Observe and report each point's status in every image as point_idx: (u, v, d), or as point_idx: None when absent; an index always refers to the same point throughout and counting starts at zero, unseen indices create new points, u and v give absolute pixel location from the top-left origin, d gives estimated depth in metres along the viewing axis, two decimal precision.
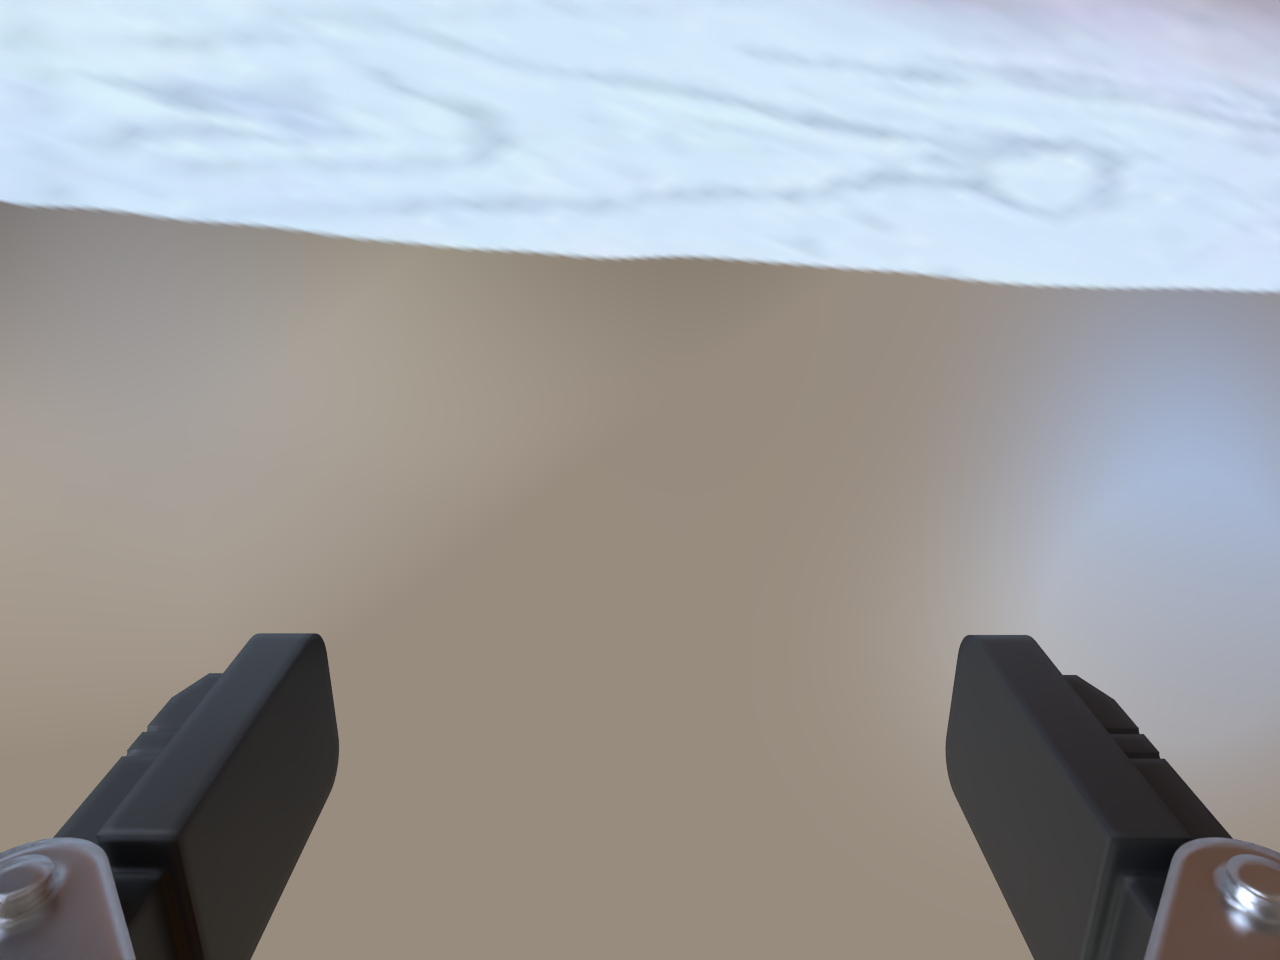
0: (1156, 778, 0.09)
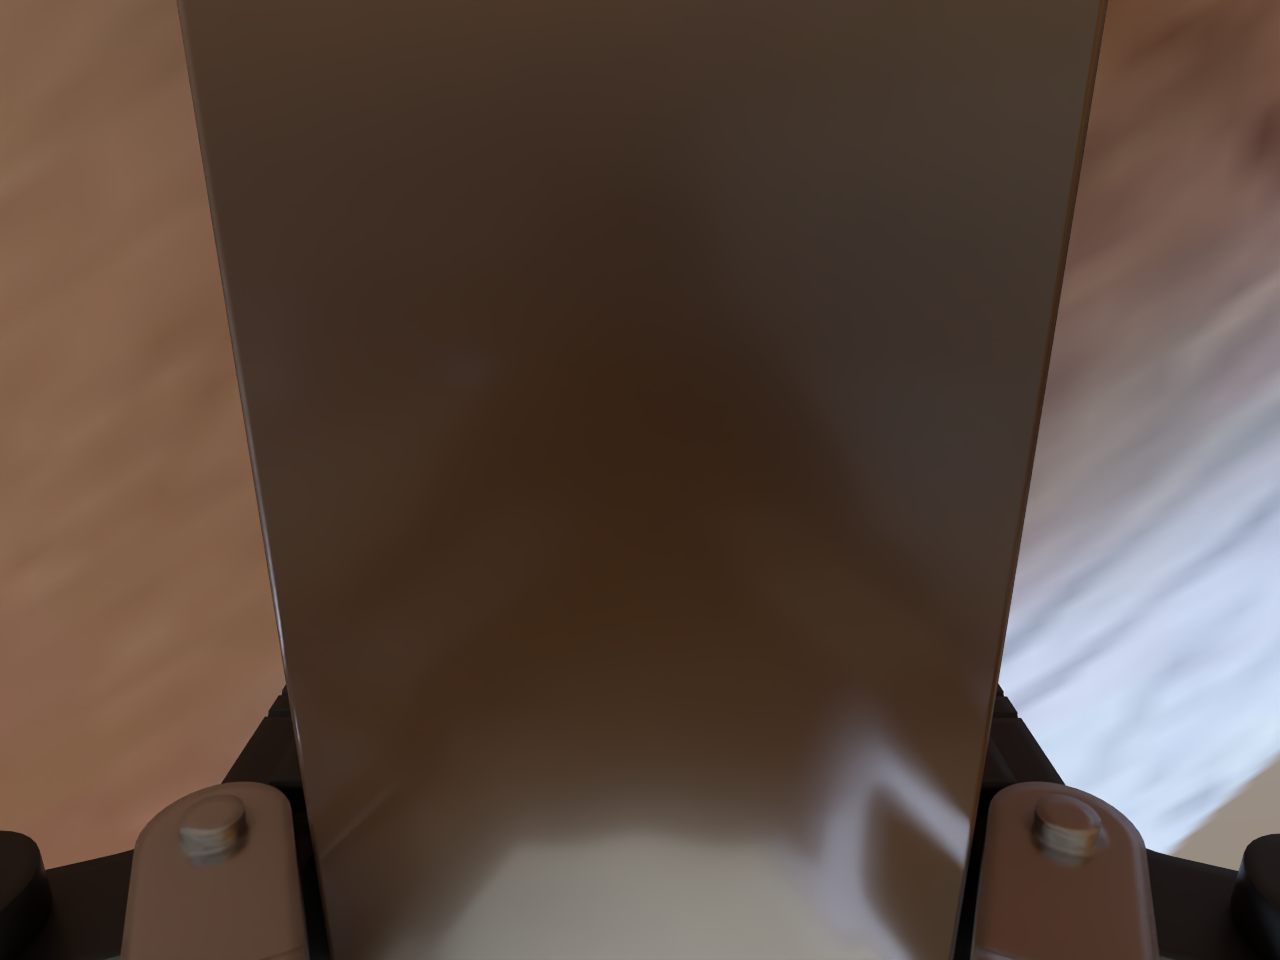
0: (1009, 735, 0.10)
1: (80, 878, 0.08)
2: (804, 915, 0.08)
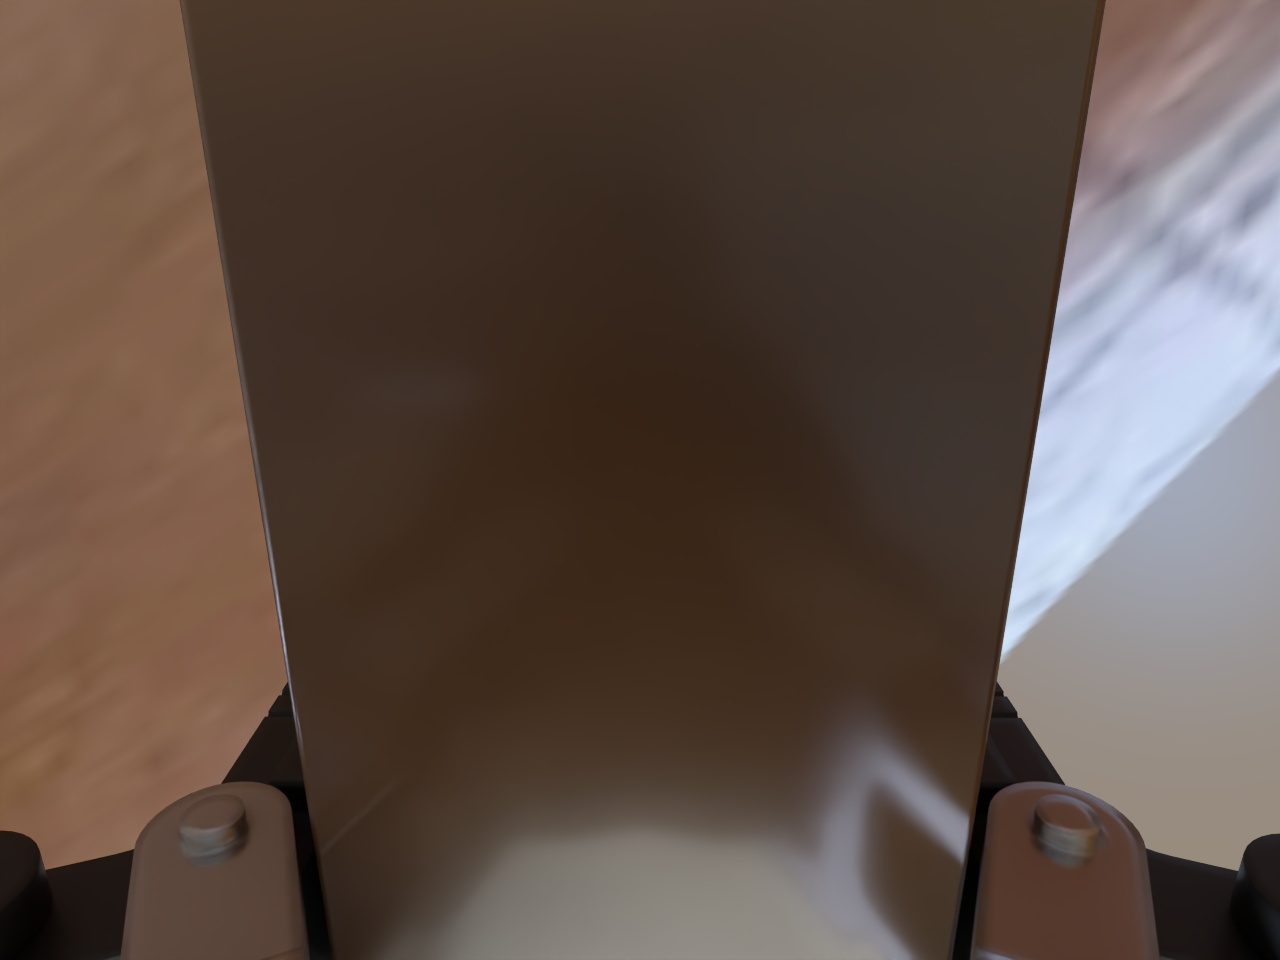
0: (1009, 735, 0.10)
1: (79, 878, 0.08)
2: (805, 911, 0.08)
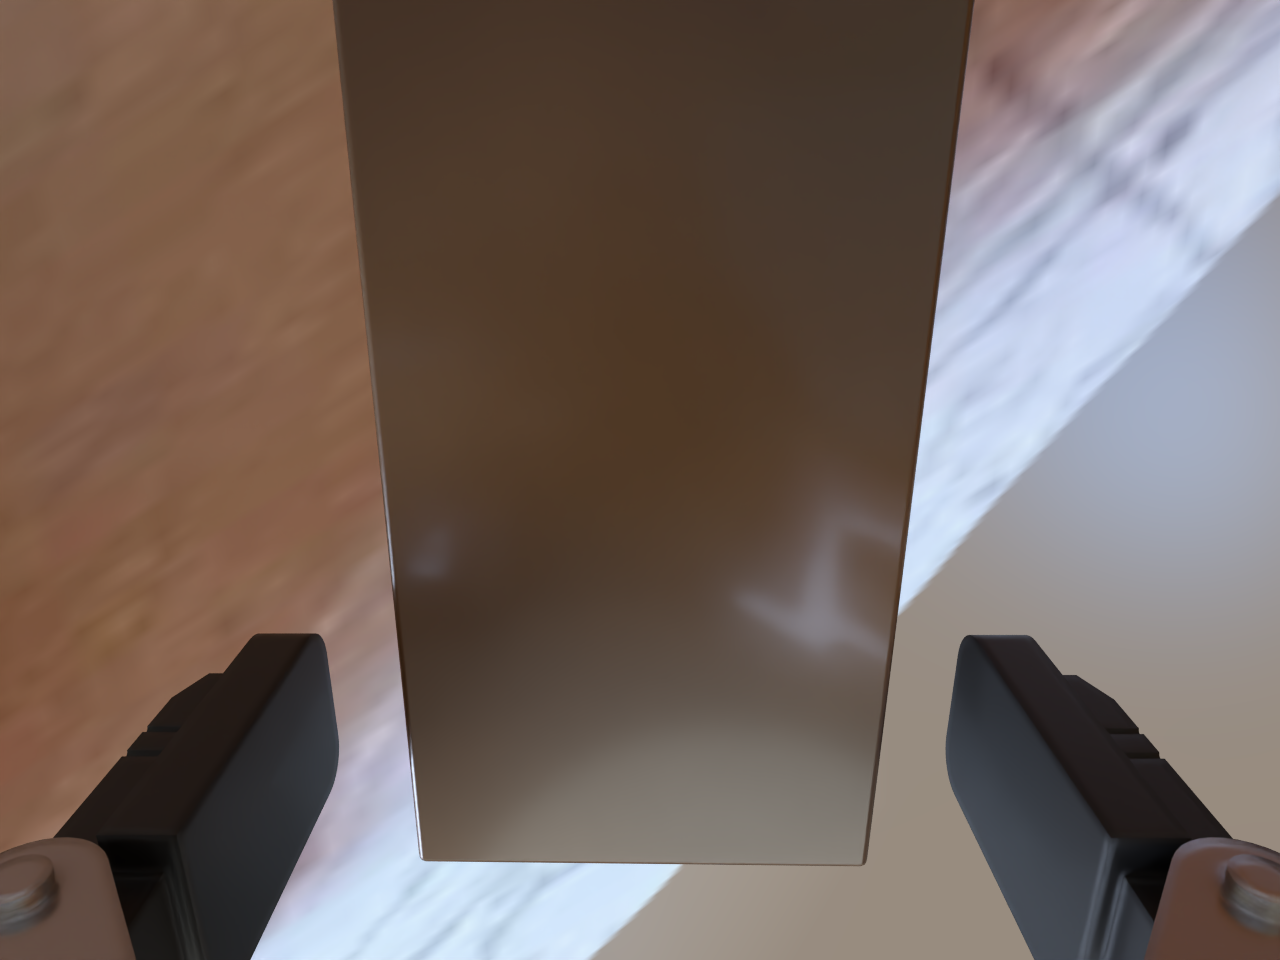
0: (1156, 778, 0.09)
1: None
2: (777, 577, 0.10)
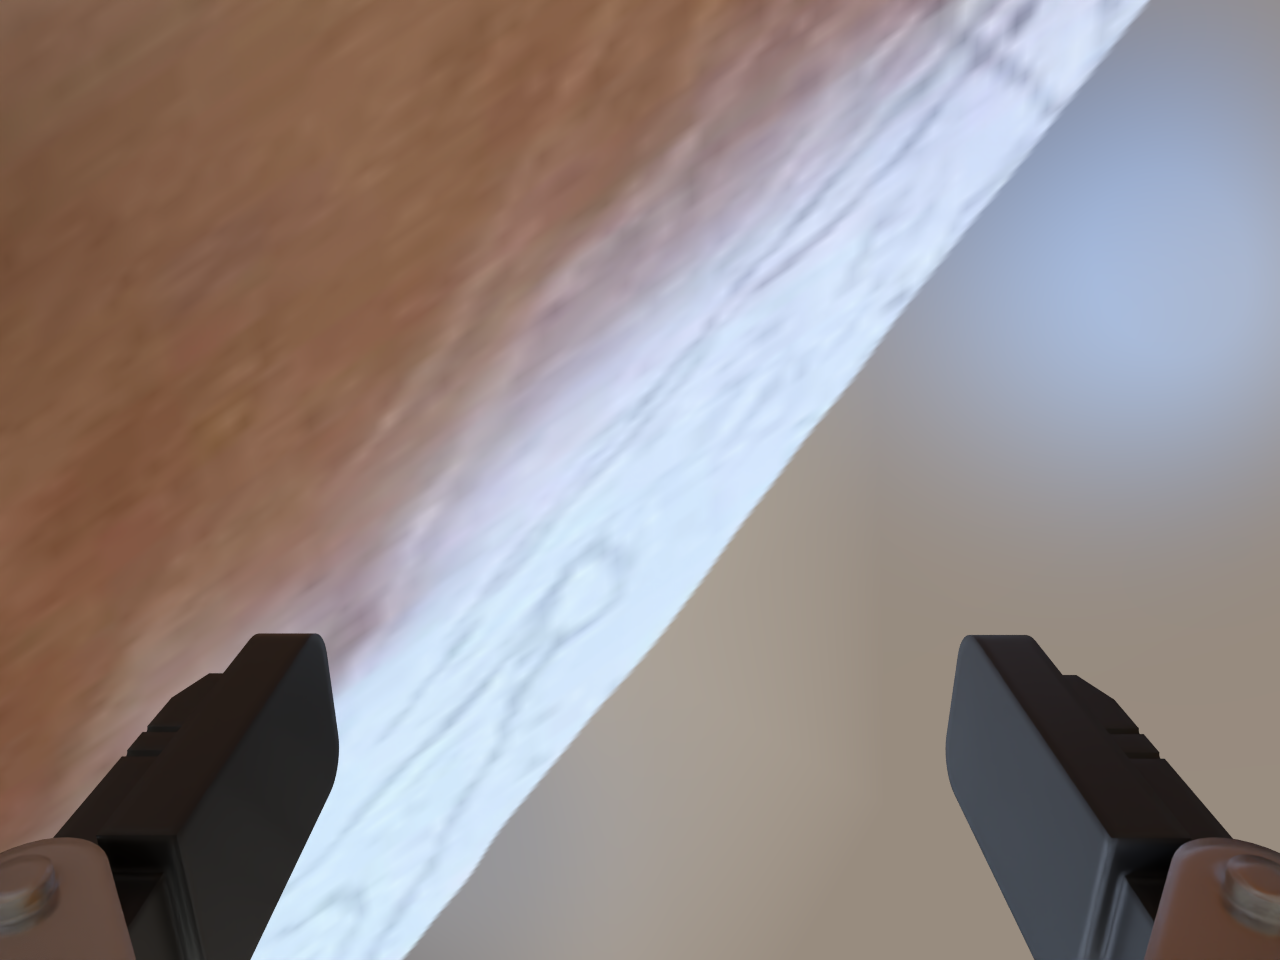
0: (1156, 778, 0.09)
1: None
2: None
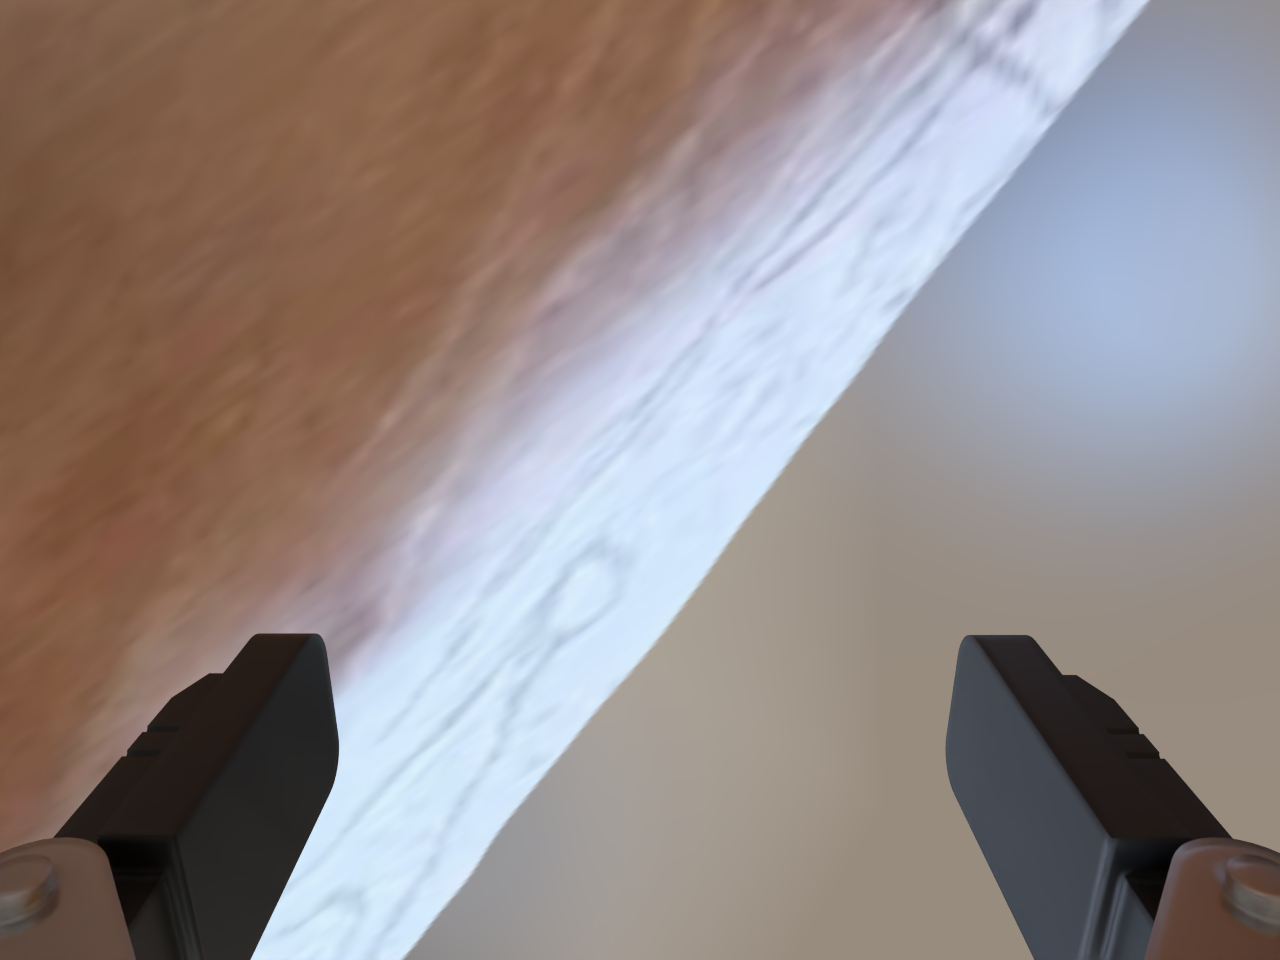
0: (1156, 778, 0.09)
1: None
2: None
